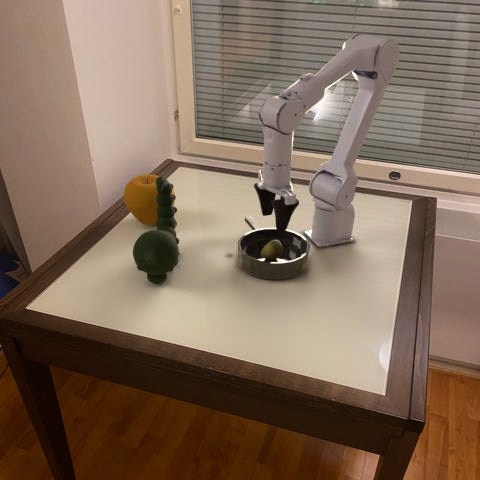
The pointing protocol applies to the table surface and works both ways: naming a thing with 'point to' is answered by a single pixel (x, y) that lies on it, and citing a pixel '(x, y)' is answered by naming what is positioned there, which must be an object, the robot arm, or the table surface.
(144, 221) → the apple
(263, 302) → the table surface
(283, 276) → the skillet
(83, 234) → the table surface
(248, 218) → the skillet handle
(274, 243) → the lime
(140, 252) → the toy figurine
